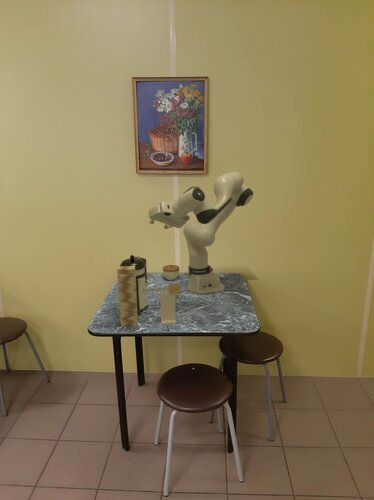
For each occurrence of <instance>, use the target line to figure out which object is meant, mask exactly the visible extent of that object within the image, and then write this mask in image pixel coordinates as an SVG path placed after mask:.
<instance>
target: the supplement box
mask: <svg viewBox="0 0 374 500" xmlns="http://www.w3.org/2000/svg"><path fill="white" fill-rule="evenodd" d="M134 258H137V259H141V260H142V261H143V262H144V263H145V282H146V283H148V275H147V273H148V271H147V259H146V258H144V257H141V256H138V255H137V256H134Z"/></svg>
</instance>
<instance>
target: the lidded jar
mask: <svg viewBox="0 0 374 500" xmlns="http://www.w3.org/2000/svg"><path fill="white" fill-rule="evenodd" d="M162 273H163V276H164V278H165V279H166V280H167V281H175V280H176V279H177V278H178V277H179V275H180V266H179V265H176V264H167V265H164V266H162Z"/></svg>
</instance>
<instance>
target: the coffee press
mask: <svg viewBox="0 0 374 500" xmlns="http://www.w3.org/2000/svg"><path fill="white" fill-rule="evenodd" d="M134 257H135V255H133V254H131V255H130V256H129V258H127V259H124V260H122V261H121V263H120V265H119V267H121V266H135V275H136V295H137V314H138V316H139V315H141V310H143V309H145V308H147V307H148V308H149V304H148V303H147V292H142V289H147V288H146V287H147V286H146V282H145V263H144V262H143V261H142V260H141V259H137V258H134ZM146 305H147V306H146Z"/></svg>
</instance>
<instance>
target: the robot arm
mask: <svg viewBox="0 0 374 500" xmlns="http://www.w3.org/2000/svg"><path fill="white" fill-rule="evenodd" d="M244 180H245V179H244V176H243V174H242V173H240V172H239V171H230V172H227V173H224V174H221V175H220V176H218V177H217V178H216V179H215V180H214V182H213V192H214V195H215V198H216V202H215V203H213V204H212V201H210V199H209V197H208V195H207V194H206V192H205V190H204V189H203V188H201V187H200V186H191V187H189V188H188V189H187V190H185V191H184V192H183V193H182V195H181V194H180V196H179V198H177V199H176V200H175V199H174V200H173V201H172V200H171V201H169V200H168V201H167V200H160V202H159V204H156V205H154V206H152V208H150V209H149V210H148V218H149V224H151V225H153V224H154V223H155V221H157V222H160V223H162V224H164V225H163V229H164V230H168V229H170V228H176V229H180V228H182V227H183V231H182V233H183V235H184V237H185V241H186V245H187V250H188V258H189V259H188V262H189V263H188V264H189V265H188V280H187V285H186V290H187V291H189V292H192V293H196V294H199V295H203V294H211V293H218V292H224V291H225V285H224V284H223V282H221V280H220V279H221V278H220V277H219V276H218V275H217V274H216V273H214V272H213V271H214V269H213V267H211V266H210V264H209V253H208V251H207V247H210V246H212V245H213V244H214V242H215V240H216V234H217V232H218V230H219V228H220V227H221V225H222V224H224V222H225V221H226V220H227V219H228V218H229V216H231V215H232V213H233V212H234V210H235V209H236V208H237V207H238V208H239V207H244V206H246V205H248V204H249V203H250V202H251V201H252V199H253V197H254V192H253V190H252V189H251V188H250V187H248V186H247V185H246V184H245V182H244ZM189 213H193V214H194V215H195V218H196V220H197V222H198V223H197V222H188V221H190V220H191V219H190V218H191V217H190V216H189ZM187 222H188V223H187ZM199 223H200V224H199Z"/></svg>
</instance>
